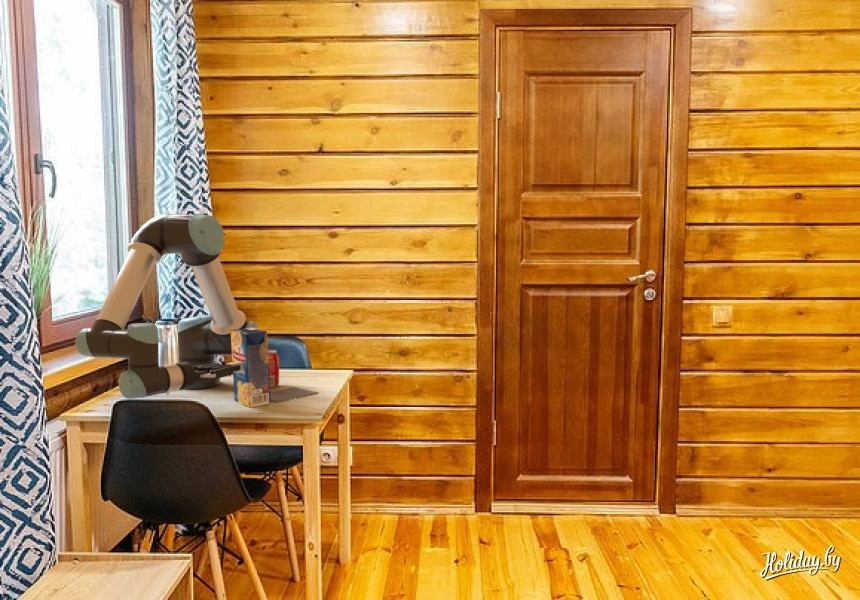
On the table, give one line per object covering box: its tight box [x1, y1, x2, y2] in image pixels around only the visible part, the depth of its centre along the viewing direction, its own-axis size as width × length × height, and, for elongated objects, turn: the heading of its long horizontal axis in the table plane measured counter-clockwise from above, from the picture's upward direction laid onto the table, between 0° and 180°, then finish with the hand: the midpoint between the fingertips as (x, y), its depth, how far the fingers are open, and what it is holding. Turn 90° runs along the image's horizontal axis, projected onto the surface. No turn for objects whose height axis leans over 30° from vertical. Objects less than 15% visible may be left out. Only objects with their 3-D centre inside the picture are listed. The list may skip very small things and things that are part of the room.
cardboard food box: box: [231, 327, 272, 408], centre depth 226 cm, size 7×11×22 cm, turn 38°
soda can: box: [268, 349, 280, 389], centre depth 249 cm, size 7×7×12 cm
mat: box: [270, 387, 320, 404], centre depth 238 cm, size 12×18×1 cm
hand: (245, 365), depth 223 cm, fingers closed
